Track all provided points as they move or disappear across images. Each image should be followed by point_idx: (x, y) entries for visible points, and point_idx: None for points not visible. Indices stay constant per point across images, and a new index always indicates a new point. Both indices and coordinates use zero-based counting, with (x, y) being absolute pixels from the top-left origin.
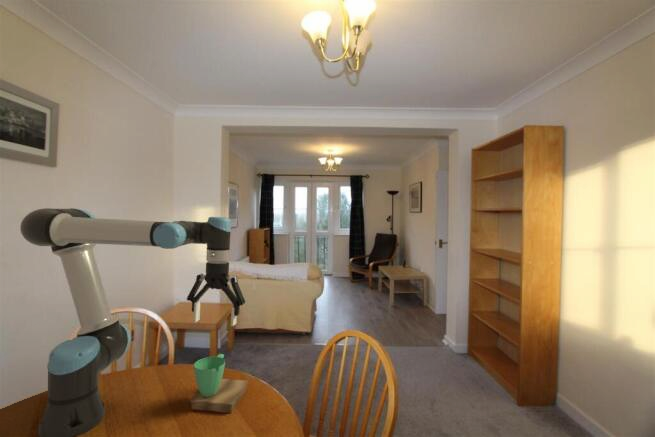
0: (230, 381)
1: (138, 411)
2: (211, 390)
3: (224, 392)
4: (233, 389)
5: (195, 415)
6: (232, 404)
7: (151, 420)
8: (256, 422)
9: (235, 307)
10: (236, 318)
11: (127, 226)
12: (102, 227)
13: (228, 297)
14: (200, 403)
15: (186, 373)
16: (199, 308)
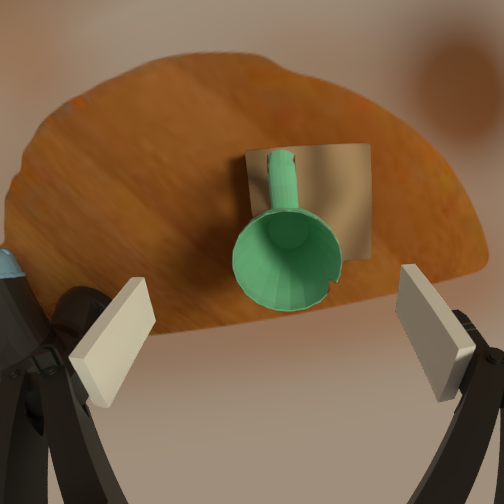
0: (318, 157)
1: (159, 283)
2: (308, 256)
3: (328, 215)
4: (347, 196)
5: None
6: (370, 256)
7: (206, 301)
8: (423, 262)
9: (462, 380)
10: (428, 282)
11: None
12: None
13: (426, 473)
14: None
15: (138, 113)
16: (112, 331)
